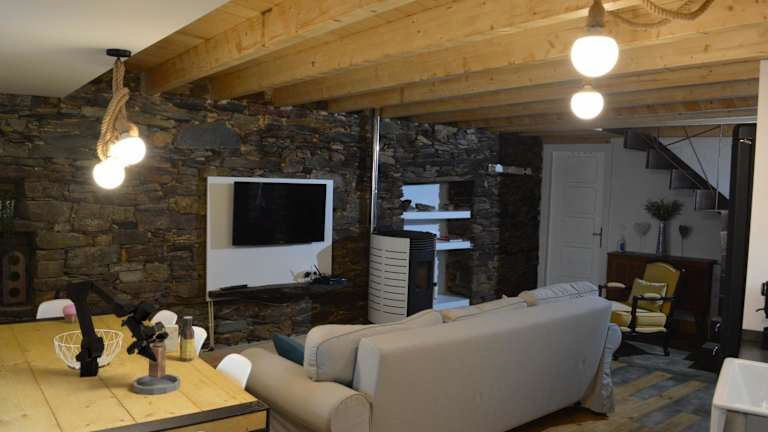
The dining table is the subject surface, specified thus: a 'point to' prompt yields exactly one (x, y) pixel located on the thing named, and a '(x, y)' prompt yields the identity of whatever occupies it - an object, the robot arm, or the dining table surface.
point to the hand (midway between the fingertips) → (160, 359)
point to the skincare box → (171, 338)
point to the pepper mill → (158, 361)
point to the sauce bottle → (187, 340)
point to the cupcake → (70, 313)
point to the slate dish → (156, 384)
